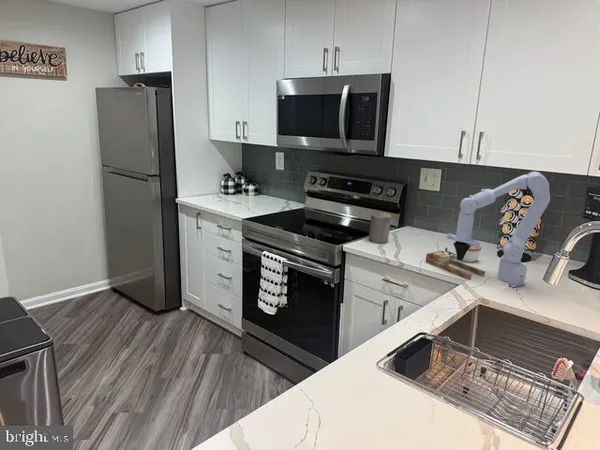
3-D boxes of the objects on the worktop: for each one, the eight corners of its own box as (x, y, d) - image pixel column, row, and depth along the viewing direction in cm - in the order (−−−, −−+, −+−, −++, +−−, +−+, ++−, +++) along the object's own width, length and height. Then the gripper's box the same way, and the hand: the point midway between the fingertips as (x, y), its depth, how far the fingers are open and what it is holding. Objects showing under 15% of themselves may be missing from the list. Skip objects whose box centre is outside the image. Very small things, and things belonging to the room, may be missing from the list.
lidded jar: (451, 262, 191) (454, 242, 189) (455, 255, 201) (458, 236, 198) (477, 267, 187) (480, 246, 184) (479, 260, 196) (483, 240, 193)
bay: (484, 278, 174) (486, 266, 173) (468, 282, 169) (470, 270, 167) (440, 261, 192) (442, 250, 190) (425, 264, 186) (426, 253, 185)
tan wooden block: (449, 264, 185) (450, 255, 184) (441, 266, 182) (442, 257, 181) (439, 260, 189) (441, 252, 188) (431, 262, 186) (433, 253, 185)
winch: (455, 263, 191) (457, 250, 189) (451, 264, 189) (453, 251, 187) (446, 259, 195) (447, 247, 193) (441, 260, 193) (443, 247, 192)
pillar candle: (367, 237, 222) (370, 209, 218) (386, 238, 222) (389, 210, 218) (369, 243, 213) (372, 214, 209) (389, 244, 213) (392, 215, 209)
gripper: (443, 224, 177) (439, 255, 181) (474, 233, 166) (469, 266, 169) (454, 222, 181) (450, 253, 185) (485, 231, 169) (480, 264, 173)
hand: (460, 259), depth 177 cm, fingers closed
